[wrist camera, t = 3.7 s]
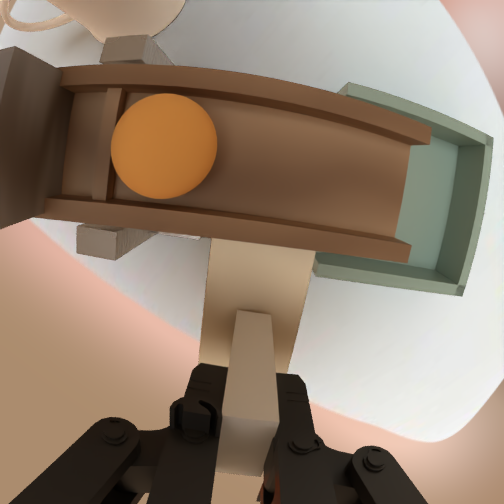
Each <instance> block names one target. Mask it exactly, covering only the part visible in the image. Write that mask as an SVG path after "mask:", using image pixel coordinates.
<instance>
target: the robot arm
mask: <svg viewBox="0 0 504 504" xmlns="http://www.w3.org/2000/svg"><path fill="white" fill-rule="evenodd" d="M263 470H264V481H263V484H262V487H261V489H260V492H259V495H258V497H257V501H259V502H260V504H428V503H427V502H426V500H425V499H424V498H423V496H422V495H421V494H420V492H419V491H418V490H417V488H416V487H415V485H414V484H413V483H412V481H411V480H410V479H409V477H408V476H407V475H406V473H405V472H404V471H403V469H402V468H401V466H400V465H399V464H398V462H397V461H396V460H395V458H394V457H393V456H392V455H391V454H390V453H389V452H388V451H387V450H385V449H383V448H381V447H376V446H365V447H362V448H360V449H358V450H357V451H356V452H355V453H354V454H349V453H345V452H340V451H337V450H334V449H331V448H329V447H327V446H325V444H324V442H323V440H322V439H321V438H320V437H319V436H318V435H317V434H316V433H315V430H314V424H313V420H312V414H311V409H310V404H309V399H308V395H307V389H306V384H305V383H304V381H303V380H302V379H301V378H300V377H299V375H295V374H285V373H276V370H275V357H274V345H273V332H272V320H271V315H269V314H262V313H255V312H248V311H242V310H237V315H236V321H235V328H234V334H233V341H232V347H231V354H230V360H229V367H224V366H218V365H212V364H206V363H200V364H199V365H198V366H196V367H195V368H194V369H193V370H192V373H191V377H190V380H189V383H188V386H187V389H186V392H185V395H184V397H182V398H180V399H178V400H176V401H174V402H173V404H172V405H171V406H170V426H168V427H167V428H164V429H160V430H152V431H143V430H140V431H139V430H137V428H136V426H135V425H134V424H132V423H131V422H129V421H128V420H125V419H122V418H116V417H109V418H104V419H101V420H99V421H98V422H96V423H95V424H94V425H93V426H91V427H90V429H88V430H87V431H86V432H85V433H84V434H83V435H82V436H81V437H80V438H79V439H78V440H77V441H76V442H75V443H74V444H72V445H71V447H69V448H68V449H67V450H66V451H65V452H64V453H63V454H62V455H61V456H60V457H59V458H58V459H56V461H54V462H53V463H52V464H51V465H50V466H49V467H48V468H47V469H46V470H45V471H44V472H43V473H42V474H40V475H39V476H38V477H37V478H36V479H35V480H34V481H33V482H32V483H31V484H30V485H29V486H27V487H26V488H25V489H24V490H23V491H22V492H21V493H20V494H19V495H18V496H17V497H16V498H14V499H13V500H12V501H11V502H10V503H9V504H137V503H138V502H139V501H140V499H141V498H142V496H143V495H144V494H145V493H149V497H148V500H147V503H146V504H211V498H212V490H213V483H214V475H215V472H222V473H229V474H238V475H247V476H259V477H261V475H262V473H263Z"/></svg>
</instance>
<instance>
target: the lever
mask: <svg viewBox="0 0 504 504" xmlns="http://www.w3.org/2000/svg"><path fill="white" fill-rule="evenodd" d="M164 93H168V94H177V95H181V96H184V97H187V98H189V99H191V100H193V101H194V102H196V103H197V104H199V105H200V106H201V107H202V108H203V109H204V110H205V111H206V112H207V114H208V115H209V117H210V118H211V120H212V122H213V124H214V127H215V130H216V135H217V153H216V157H215V160H214V163H213V166H212V168H211V170H210V171H209V173H208V174H207V176H206V177H205V178H204V180H203V181H202V182H201V183H200V184H199V185H197V186H196V187H195V188H194V189H192V190H191V191H189V192H187V193H185V194H183V195H180V196H178V197H174V198H168V199H154V198H149V197H145V196H142V195H140V194H138V193H136V192H135V191H133V190H131V189H130V188H129V187H128V186H127V185H126V184H125V183H124V182H123V181H122V180H121V179H120V177H119V176H118V174H117V172H116V170H115V168H114V165H113V162H112V157H111V140H112V135H113V132H114V129H115V127H116V125H117V123H118V121H119V119H120V118H121V116H122V115H123V114H124V113H125V112H126V111H127V110H128V109H129V108H130V107H131V106H132V105H133V104H135V103H136V102H138V101H140V100H142V99H144V98H146V97H149V96H152V95H156V94H164ZM431 131H432V127H430V126H427V125H425V124H423V123H420V122H418V121H415V120H413V119H410V118H408V117H405V116H403V115H400V114H397V113H395V112H392V111H389V110H386V109H384V108H381V107H378V106H375V105H372V104H369V103H366V102H363V101H360V100H357V99H353V98H350V97H347V96H343V95H340V94H336V93H333V92H329V91H325V90H322V89H318V88H314V87H310V86H306V85H302V84H297V83H293V82H288V81H283V80H279V79H274V78H268V77H263V76H257V75H252V74H245V73H239V72H232V71H225V70H217V69H208V68H198V67H187V66H173V65H153V64H103V65H83V66H70V67H59V68H55V67H53V66H52V65H50V64H48V63H46V62H44V61H42V60H41V59H39V58H37V57H35V56H33V55H31V54H29V53H27V52H26V51H24V50H22V49H20V48H18V47H16V46H14V47H10V48H6V49H2V50H0V229H2V228H5V227H8V226H10V225H13V224H16V223H18V222H21V221H24V220H27V219H29V218H32V217H35V218H44V219H53V220H62V221H71V222H80V223H89V224H98V225H107V226H115V227H124V228H133V229H141V230H150V231H158V232H166V233H175V234H183V235H191V236H200V237H208V238H212V239H211V247H210V255H209V264H208V272H207V281H206V290H205V299H204V308H203V318H202V328H201V339H200V350H199V364H200V363H206V364H212V365H218V366H224V367H229V360H230V354H231V347H232V341H233V334H234V328H235V321H236V315H237V310H242V311H248V312H255V313H262V314H269V315H271V320H272V332H273V345H274V357H275V370H276V373H285V374H287V371H288V367H289V363H290V359H291V356H292V352H293V348H294V344H295V340H296V336H297V332H298V328H299V324H300V320H301V316H302V311H303V307H304V303H305V298H306V294H307V290H308V285H309V281H310V276H311V272H312V267H313V262H314V258H315V253H316V251H319V252H327V253H334V254H342V255H349V256H357V257H364V258H372V259H379V260H387V261H394V262H401V263H408V259H409V255H410V251H411V247H412V245H410V244H408V243H406V242H404V241H401V240H399V239H397V238H395V233H396V229H397V224H398V219H399V214H400V209H401V204H402V199H403V193H404V188H405V182H406V176H407V169H408V163H409V156H410V148H411V146H413V145H430V140H431ZM199 364H198V365H199Z"/></svg>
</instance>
